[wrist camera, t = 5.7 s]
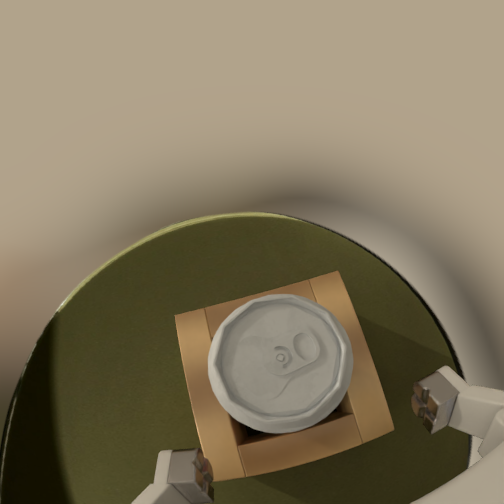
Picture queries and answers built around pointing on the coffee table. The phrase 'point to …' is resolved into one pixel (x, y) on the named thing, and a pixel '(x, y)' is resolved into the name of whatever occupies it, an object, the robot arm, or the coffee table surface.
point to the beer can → (280, 363)
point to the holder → (293, 443)
